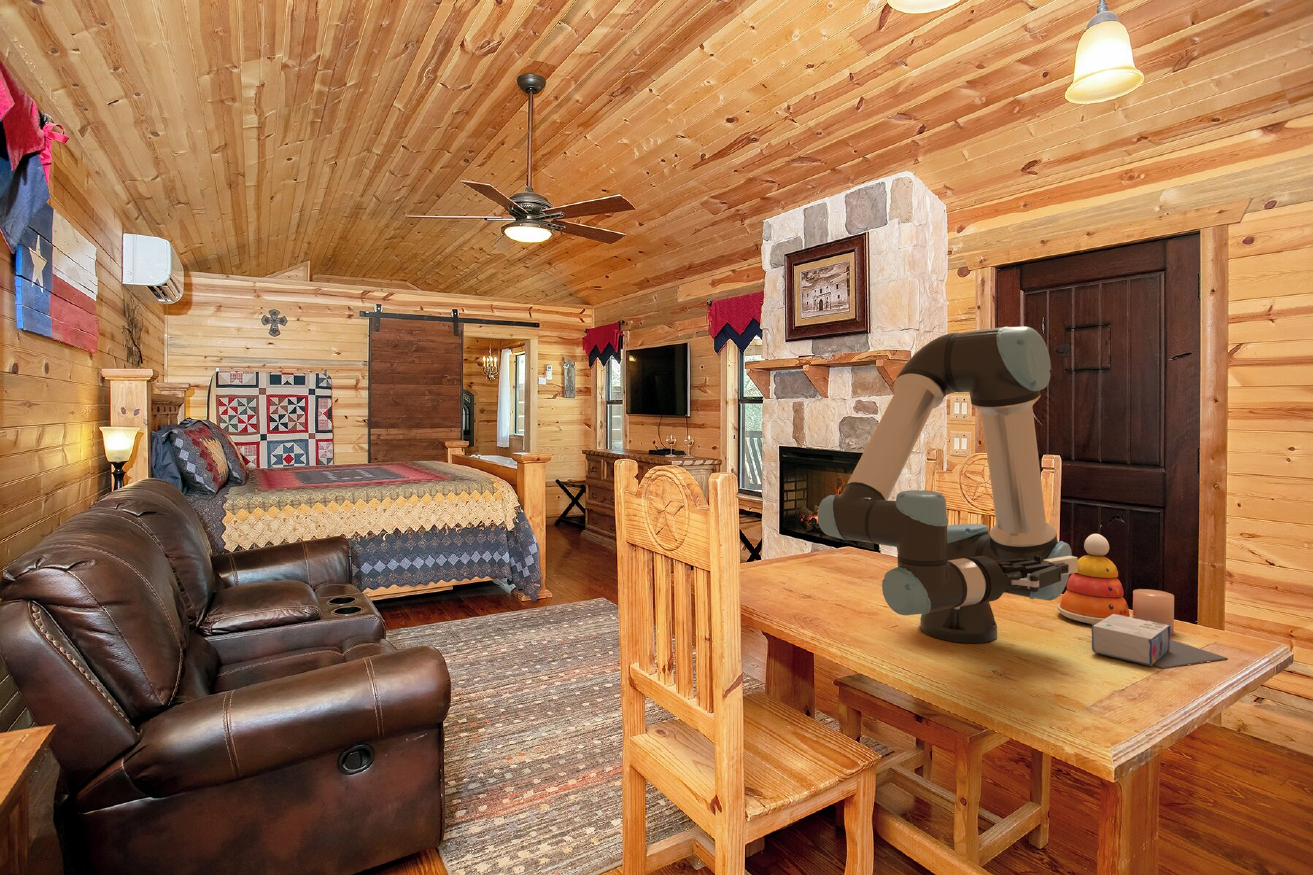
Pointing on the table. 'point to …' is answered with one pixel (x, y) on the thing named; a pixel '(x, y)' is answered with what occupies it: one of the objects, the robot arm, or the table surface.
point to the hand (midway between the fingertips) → (1073, 563)
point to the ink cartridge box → (1131, 639)
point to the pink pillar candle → (1154, 607)
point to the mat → (1185, 656)
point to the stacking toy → (1094, 586)
